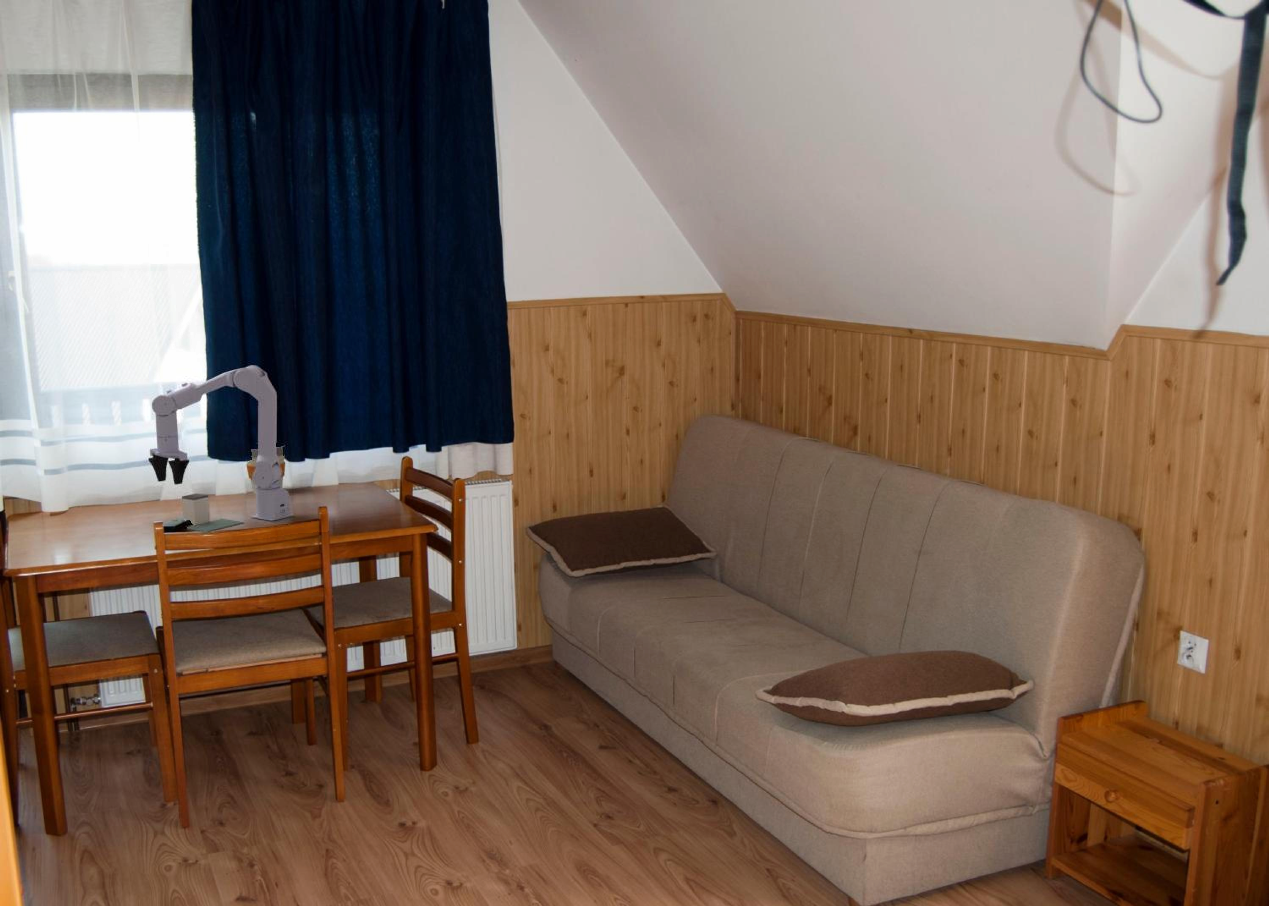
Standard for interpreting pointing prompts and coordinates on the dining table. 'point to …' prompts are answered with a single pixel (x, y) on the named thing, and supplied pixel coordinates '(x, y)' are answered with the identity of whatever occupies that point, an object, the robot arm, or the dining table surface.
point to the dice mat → (214, 525)
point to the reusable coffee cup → (252, 464)
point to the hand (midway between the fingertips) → (170, 482)
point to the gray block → (196, 508)
